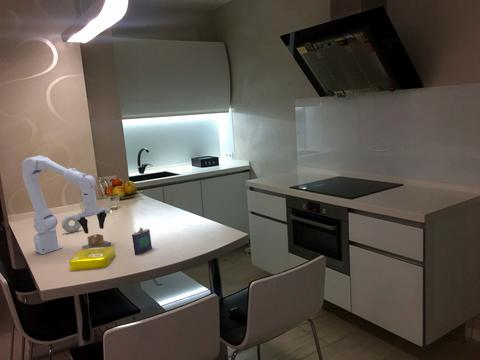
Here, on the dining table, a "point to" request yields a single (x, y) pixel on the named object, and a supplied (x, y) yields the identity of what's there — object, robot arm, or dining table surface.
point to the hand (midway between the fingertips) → (94, 230)
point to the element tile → (92, 258)
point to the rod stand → (97, 246)
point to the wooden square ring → (95, 240)
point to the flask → (141, 241)
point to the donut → (66, 225)
